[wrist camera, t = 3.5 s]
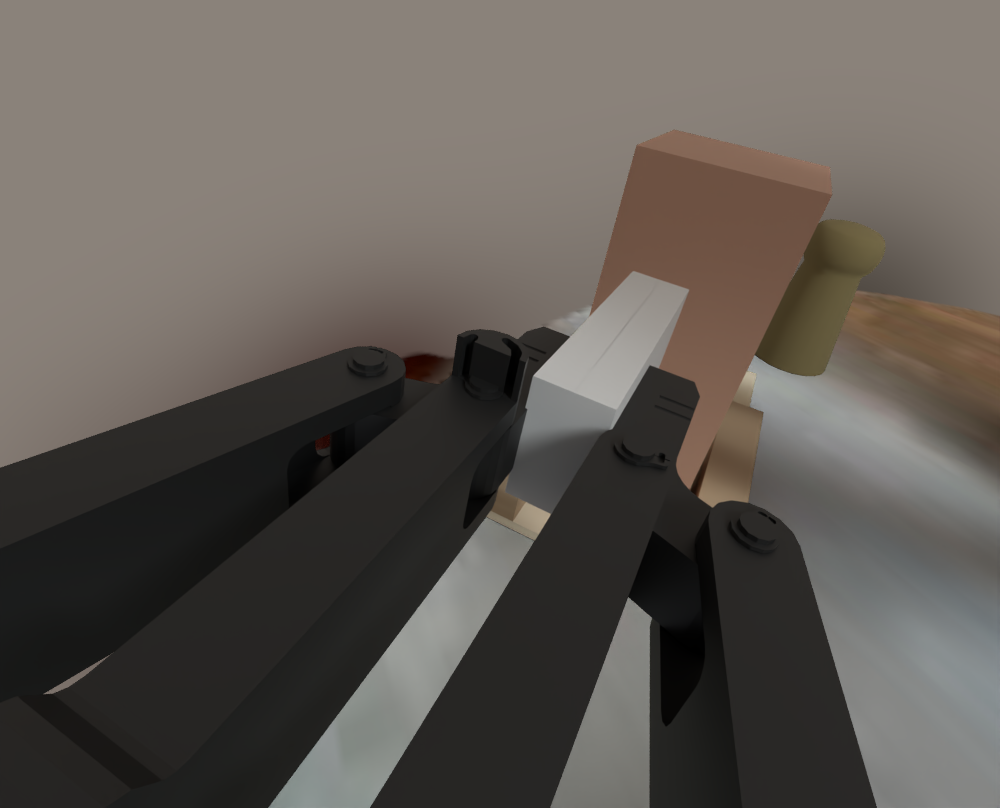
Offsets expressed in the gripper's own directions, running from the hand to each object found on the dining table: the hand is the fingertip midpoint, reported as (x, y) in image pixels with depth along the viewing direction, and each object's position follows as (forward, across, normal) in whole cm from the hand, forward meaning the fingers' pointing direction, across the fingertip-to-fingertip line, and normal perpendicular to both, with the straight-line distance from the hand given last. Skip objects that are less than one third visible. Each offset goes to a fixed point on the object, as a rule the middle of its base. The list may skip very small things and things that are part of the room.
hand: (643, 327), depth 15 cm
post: (+9, 0, -13) cm, 16 cm away
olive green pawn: (+34, +8, -13) cm, 37 cm away
